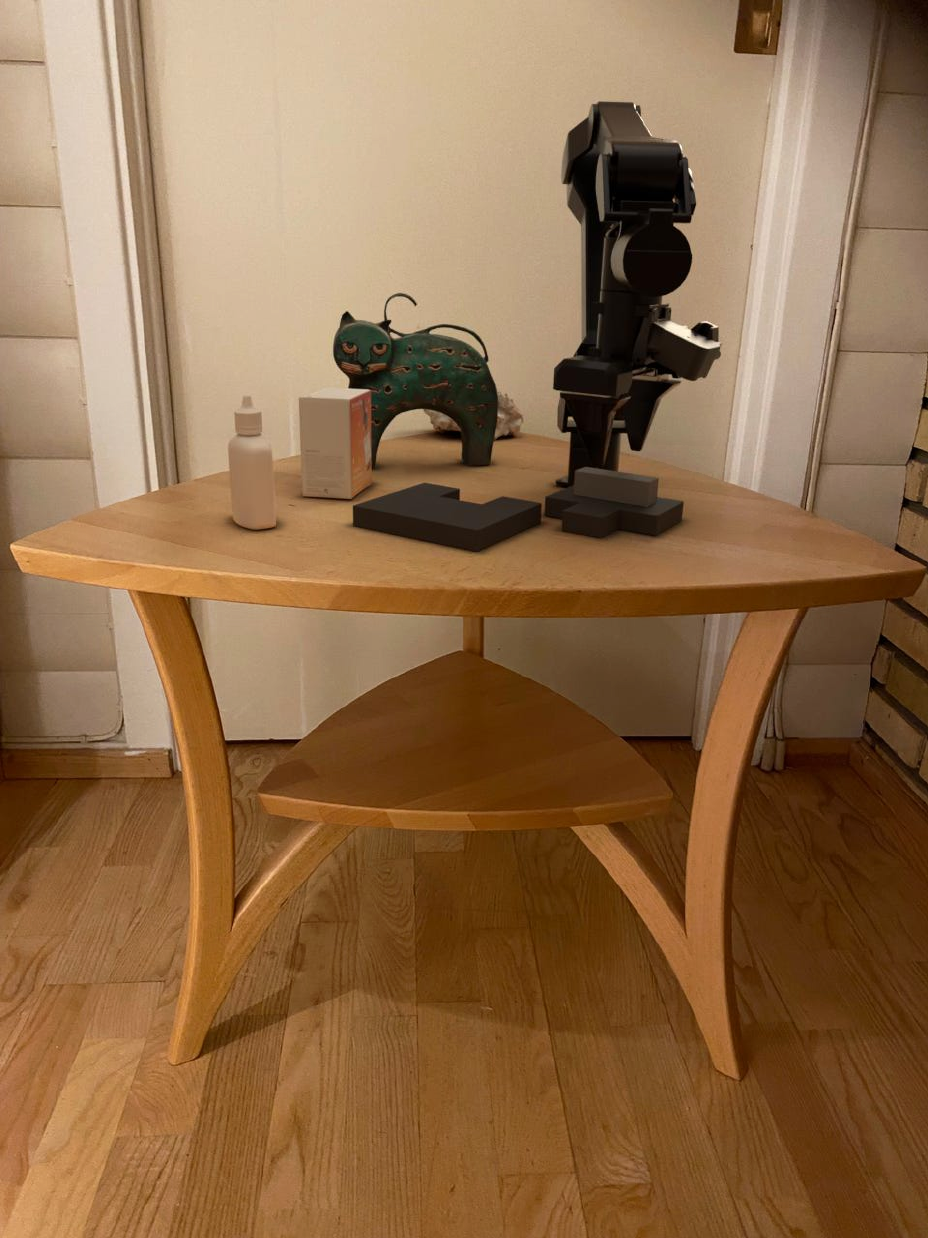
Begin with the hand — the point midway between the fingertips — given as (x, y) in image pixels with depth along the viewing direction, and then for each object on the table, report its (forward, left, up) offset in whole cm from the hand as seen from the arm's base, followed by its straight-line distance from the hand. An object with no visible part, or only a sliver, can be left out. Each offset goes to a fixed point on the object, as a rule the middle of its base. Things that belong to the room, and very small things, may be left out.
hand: (617, 458), depth 95 cm
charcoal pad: (+12, -12, -6) cm, 18 cm away
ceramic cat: (-8, -30, -6) cm, 32 cm away
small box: (+8, -29, -6) cm, 31 cm away
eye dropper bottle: (+23, -27, -6) cm, 36 cm away
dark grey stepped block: (+2, 0, -6) cm, 6 cm away
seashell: (-29, -35, -6) cm, 46 cm away
